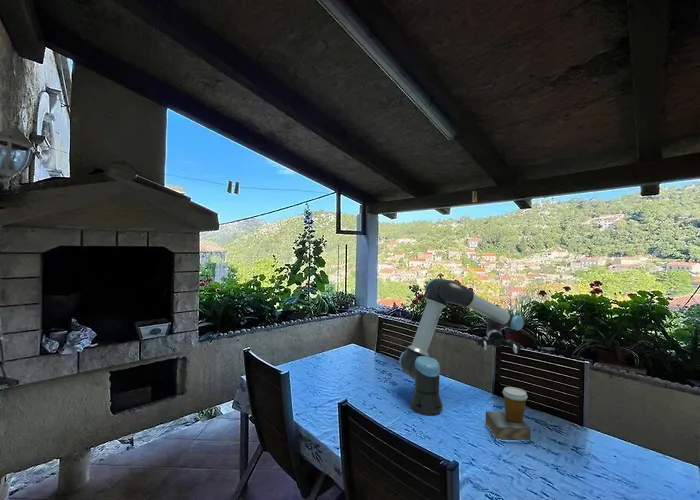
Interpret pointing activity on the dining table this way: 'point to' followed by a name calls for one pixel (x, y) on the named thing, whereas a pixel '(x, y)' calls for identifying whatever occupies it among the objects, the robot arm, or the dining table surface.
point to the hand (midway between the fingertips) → (500, 348)
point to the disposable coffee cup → (514, 403)
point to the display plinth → (506, 427)
